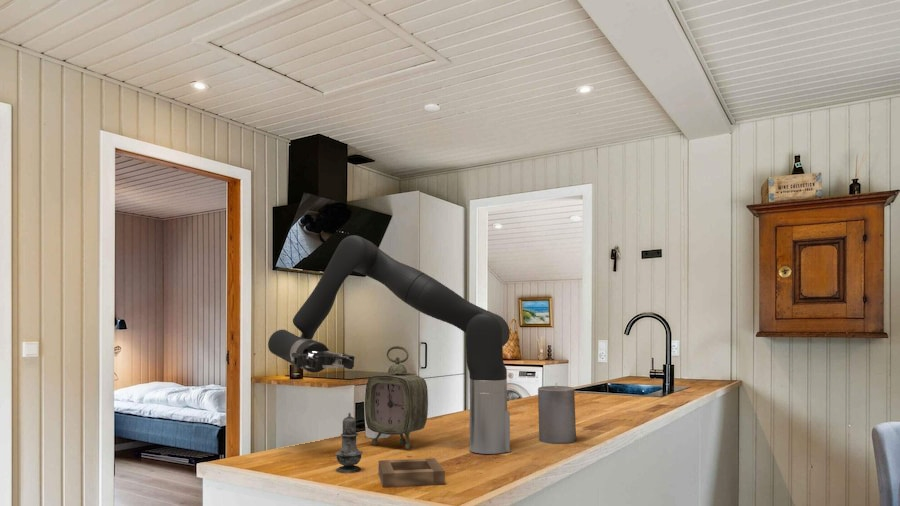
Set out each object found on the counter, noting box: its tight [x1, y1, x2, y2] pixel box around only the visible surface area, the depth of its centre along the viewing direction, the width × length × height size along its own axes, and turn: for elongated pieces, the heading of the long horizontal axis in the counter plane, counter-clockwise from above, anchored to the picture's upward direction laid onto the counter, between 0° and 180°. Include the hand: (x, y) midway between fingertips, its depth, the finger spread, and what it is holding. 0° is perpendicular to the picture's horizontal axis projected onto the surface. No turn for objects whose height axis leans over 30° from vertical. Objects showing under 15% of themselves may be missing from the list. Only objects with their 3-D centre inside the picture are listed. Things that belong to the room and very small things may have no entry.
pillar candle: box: [537, 382, 577, 445], centre depth 174 cm, size 10×10×15 cm
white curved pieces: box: [363, 398, 392, 440], centre depth 180 cm, size 8×8×10 cm
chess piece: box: [334, 412, 364, 474], centre depth 140 cm, size 6×6×12 cm
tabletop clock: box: [364, 345, 429, 450], centre depth 168 cm, size 14×9×25 cm, turn 56°
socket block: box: [377, 457, 446, 488], centre depth 132 cm, size 12×12×2 cm
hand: (334, 364), depth 150 cm, fingers open, 8 cm apart
